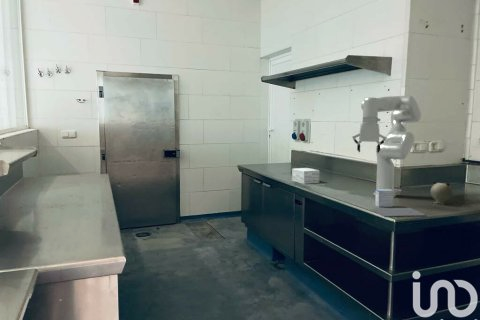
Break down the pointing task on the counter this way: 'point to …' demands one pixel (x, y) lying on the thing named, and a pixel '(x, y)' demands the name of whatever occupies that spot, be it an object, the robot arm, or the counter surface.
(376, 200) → the medicine box
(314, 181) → the supplement box
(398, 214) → the rubber mat
